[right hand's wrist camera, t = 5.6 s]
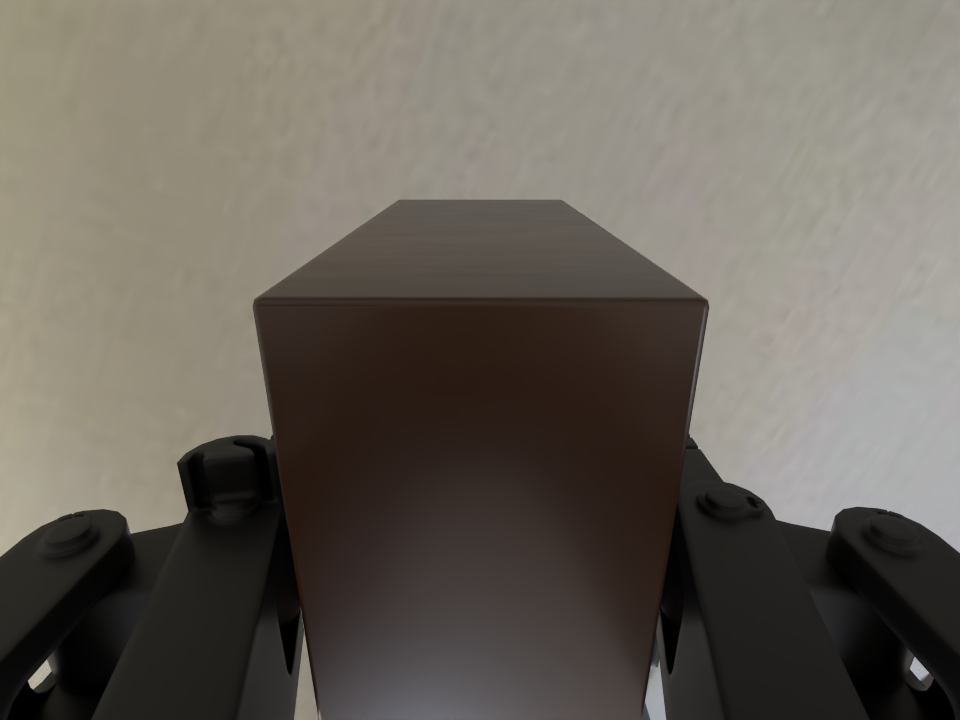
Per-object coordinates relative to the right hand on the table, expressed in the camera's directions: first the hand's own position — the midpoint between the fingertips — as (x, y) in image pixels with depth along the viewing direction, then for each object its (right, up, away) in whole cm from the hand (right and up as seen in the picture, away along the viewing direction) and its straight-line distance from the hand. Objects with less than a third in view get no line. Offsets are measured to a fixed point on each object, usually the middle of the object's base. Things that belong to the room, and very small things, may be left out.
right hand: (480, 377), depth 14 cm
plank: (0, -8, +3) cm, 9 cm away
